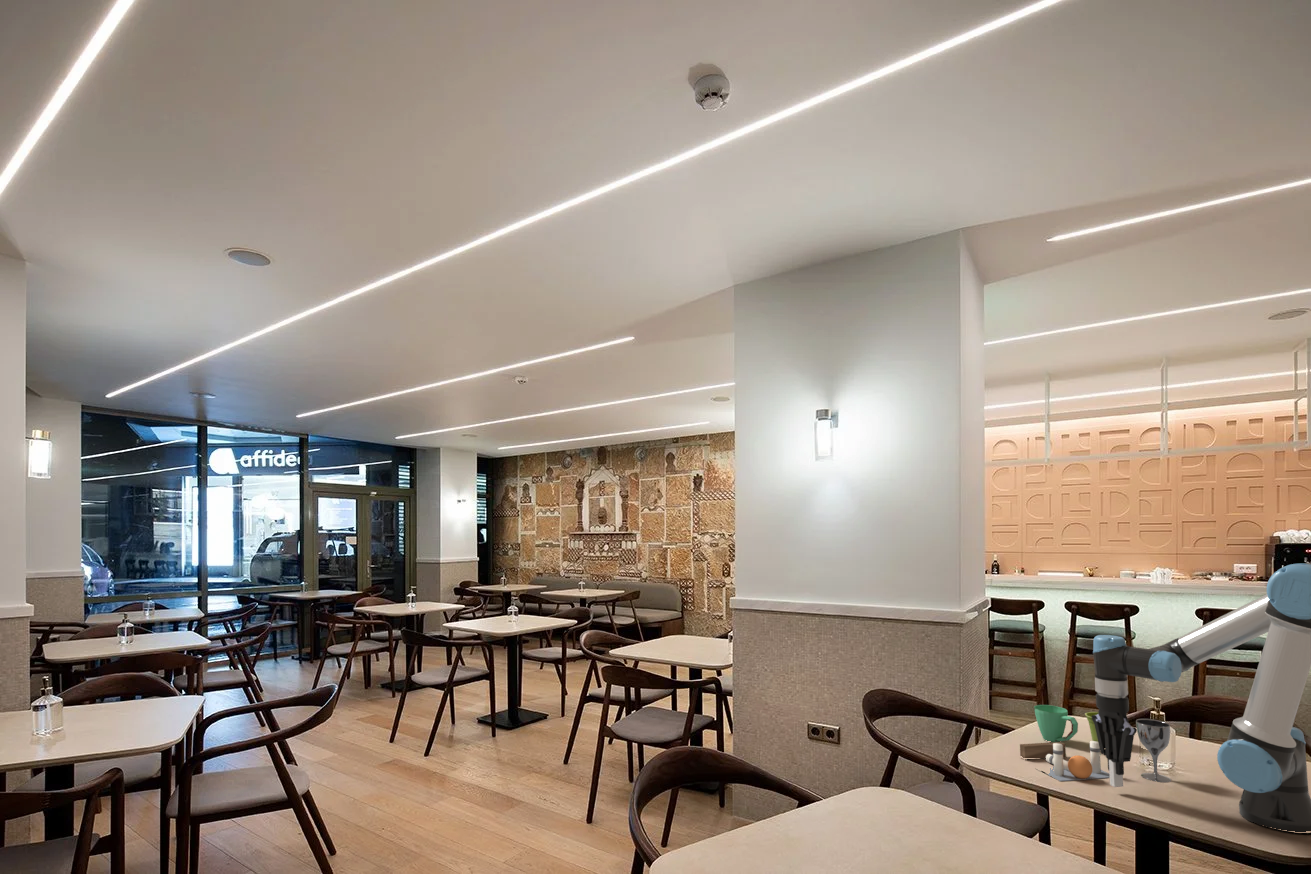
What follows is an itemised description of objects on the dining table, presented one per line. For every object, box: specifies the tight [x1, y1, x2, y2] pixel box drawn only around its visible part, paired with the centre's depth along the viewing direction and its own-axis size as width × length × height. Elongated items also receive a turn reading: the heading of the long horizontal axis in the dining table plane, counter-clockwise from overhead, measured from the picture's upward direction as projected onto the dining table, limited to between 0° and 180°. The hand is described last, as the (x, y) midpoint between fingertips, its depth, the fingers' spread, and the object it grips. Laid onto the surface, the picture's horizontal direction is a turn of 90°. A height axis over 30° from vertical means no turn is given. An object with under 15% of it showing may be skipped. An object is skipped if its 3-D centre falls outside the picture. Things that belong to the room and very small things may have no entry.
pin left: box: [1053, 743, 1064, 776], centre depth 207 cm, size 2×2×8 cm
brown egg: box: [1067, 754, 1092, 779], centre depth 205 cm, size 6×6×6 cm
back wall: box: [1019, 741, 1067, 759], centre depth 221 cm, size 2×14×4 cm, turn 100°
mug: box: [1033, 704, 1079, 742], centre depth 236 cm, size 15×10×10 cm
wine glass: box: [1135, 718, 1172, 783], centre depth 206 cm, size 8×8×15 cm
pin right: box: [1089, 740, 1102, 774], centre depth 209 cm, size 2×2×8 cm
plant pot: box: [1084, 711, 1098, 742], centre depth 236 cm, size 9×9×9 cm
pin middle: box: [1045, 754, 1069, 771], centre depth 213 cm, size 2×2×8 cm
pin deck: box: [1047, 766, 1110, 782], centre depth 208 cm, size 10×18×1 cm, turn 100°
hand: (1116, 785), depth 194 cm, fingers closed
